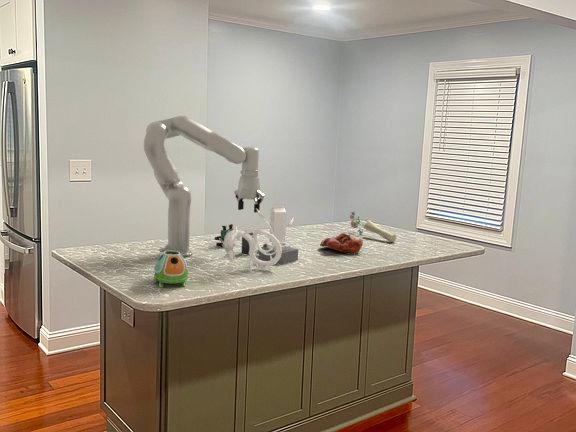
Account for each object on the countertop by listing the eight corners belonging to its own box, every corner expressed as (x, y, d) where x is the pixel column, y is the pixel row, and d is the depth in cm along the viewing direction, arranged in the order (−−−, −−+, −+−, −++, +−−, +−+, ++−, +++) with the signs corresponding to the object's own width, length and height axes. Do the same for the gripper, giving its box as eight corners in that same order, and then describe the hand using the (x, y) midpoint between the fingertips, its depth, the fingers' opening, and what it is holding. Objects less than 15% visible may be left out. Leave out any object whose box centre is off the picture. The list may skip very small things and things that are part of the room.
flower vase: (384, 256, 304) (340, 231, 329) (400, 247, 311) (355, 223, 335) (385, 237, 298) (339, 213, 323) (401, 229, 305) (355, 206, 329)
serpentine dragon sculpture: (291, 253, 261) (280, 200, 258) (319, 255, 245) (307, 198, 242) (210, 282, 237) (196, 224, 234) (234, 286, 220) (220, 223, 217)
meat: (311, 247, 284) (312, 227, 283) (346, 244, 294) (348, 225, 292) (332, 256, 266) (333, 235, 264) (370, 254, 276) (371, 233, 274)
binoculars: (222, 223, 284) (237, 224, 278) (223, 244, 285) (238, 245, 279) (209, 225, 277) (224, 226, 271) (210, 246, 278) (225, 248, 272)
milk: (269, 248, 277) (270, 203, 273) (280, 247, 279) (282, 203, 275) (273, 251, 271) (274, 205, 268) (285, 250, 273) (286, 205, 270)
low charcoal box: (282, 264, 247) (283, 248, 246) (258, 258, 255) (258, 243, 254) (297, 260, 255) (298, 244, 254) (273, 254, 264) (274, 239, 263)
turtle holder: (180, 274, 223) (181, 245, 221) (192, 287, 207) (192, 255, 205) (148, 276, 218) (149, 246, 216) (157, 290, 202) (158, 257, 200)
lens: (247, 255, 260) (248, 233, 259) (238, 253, 264) (239, 231, 262) (255, 253, 265) (256, 232, 263) (246, 251, 268) (247, 230, 266)
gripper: (230, 172, 263) (229, 209, 266) (259, 176, 253) (257, 214, 256) (240, 172, 269) (239, 207, 272) (269, 175, 259) (268, 212, 262)
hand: (248, 210), depth 264 cm, fingers open, 9 cm apart
